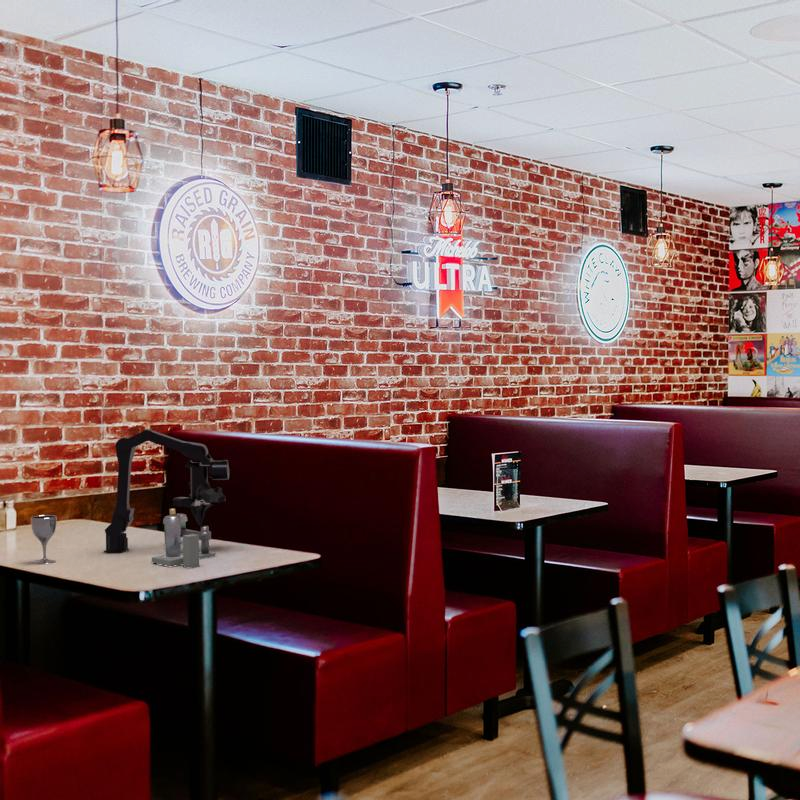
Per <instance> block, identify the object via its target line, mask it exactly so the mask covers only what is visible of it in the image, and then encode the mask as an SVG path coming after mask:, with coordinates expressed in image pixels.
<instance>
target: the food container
mask: <svg viewBox="0 0 800 800" xmlns="http://www.w3.org/2000/svg"><path fill="white" fill-rule="evenodd" d="M176 515H179V516H180V527H185V528H186V522H188V516H187V514H184V513H176ZM162 524H163V531H164V535H165V517H163V520H162ZM165 544H166V542H165V541H164V545H165Z"/></svg>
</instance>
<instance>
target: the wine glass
mask: <svg viewBox="0 0 800 800" xmlns="http://www.w3.org/2000/svg"><path fill="white" fill-rule="evenodd" d="M57 517H58V516H57V515H55V514H41V515H33V516H31V517H30V523H31V524H30V525H31V530H32V534H33V535H34V537H36V539H37V540H38V542H40V543H41V546H42V552H43V557H42V559H40V560H35V561H33V563H32V564H35V565H46V564H47V565H48V564H53V563H56V562H57V560H55V559H49V558H47V545H48V542H49V541H50V539H52V537H53V536H54V534H55V532H56V529H57V522H58V521H57V520H58V519H57Z"/></svg>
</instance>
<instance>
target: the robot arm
mask: <svg viewBox="0 0 800 800" xmlns="http://www.w3.org/2000/svg"><path fill="white" fill-rule="evenodd" d="M146 442H151V443H153V444H157V445H160V446H162V447H164V448H167V449H171V450H174V451H177V452H178V453H181V454H182V455H184V456H185V457H187V458H188V459H190V460H188V462H187V463H186V464H185V465H184V467H185V468H190V482H188V486H189V487H190V494H188V497H186V496H178V497H174V498H173V499H172V507H179V508H189V510H190V512H191V513H192V516H193V517H194V519H195V522H196V524H197V525H198V526H201V525H203V521H204V518H205V517H206V513H207V510H208V509H209V508H210V507H212V506H213V504H212V503H218V504H220V503H226V496H225V494H224V493H223V489H222V488H221V487H215V488H212V486H211V483H210V482H209V481H208V477H209V478H211V480H215V481H216V480H217V481H220V480H221V481H225V480H230V467H229V465H230V464H229V460H228V459H224V460H214V459H213V458H212V456H211V455H210V454H209V449H208V447H207V446H206V444H203V443H200V442H193V441H185V440H182V439H179V438H175V437H173V436H169V435H166V434H165V433H162V432H158V431H156V430H153V429H151V428H147V429H144V430H143V431H141V432H139V433H137V434H135V435H132V436H124V437H121V438H119V439H118V440H117V441H116V443H115V447H114V448H115V454H116V459H117V462H118V467H117V468H118V471H117V485H116V486H117V487H116V488H117V489H116V504H115V507H114V511H113V513H112V517H111V521H110V524H109V525H108V526H107V527H106V528H105V529H104V533H105V550H103V553H109V552H121V553H123V551H124V552H127V551H129V550H130V548H129V538H128V537H127V533H126V531H127V528H128V527H130V526H131V524H132V522H133V521H135V518H134V512H135V508H134V507H133V508H131V506H130V493H131V492H130V491H131V475H132V474H131V471H132V462H133V460H134V456H135V453H136V449H137V447H138V446H141V445H142V444H145V443H146ZM126 550H127V551H126Z"/></svg>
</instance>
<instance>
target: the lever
mask: <svg viewBox="0 0 800 800" xmlns="http://www.w3.org/2000/svg"><path fill="white" fill-rule="evenodd" d="M209 527H210V526H208V525H203V526H200V531H199V530H193V529H187V528H186V526H185V527H180V532H181V537H183V535H190V534H196V535H199V541H200V549H201V550H200V553H209V552H210V540H211V539H212V531H211V530H210V528H209Z"/></svg>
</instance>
